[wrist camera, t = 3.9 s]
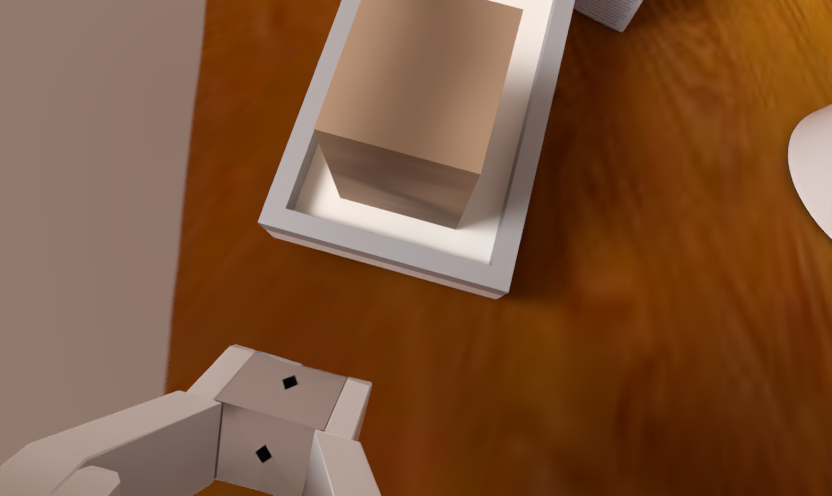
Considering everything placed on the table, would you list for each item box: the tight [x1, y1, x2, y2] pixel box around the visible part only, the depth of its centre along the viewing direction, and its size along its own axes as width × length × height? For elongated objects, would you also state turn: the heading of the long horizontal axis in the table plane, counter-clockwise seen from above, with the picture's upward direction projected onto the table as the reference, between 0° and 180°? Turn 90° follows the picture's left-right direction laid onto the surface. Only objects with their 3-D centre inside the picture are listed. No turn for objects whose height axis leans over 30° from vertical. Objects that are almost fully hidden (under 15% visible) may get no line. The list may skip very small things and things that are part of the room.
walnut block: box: [314, 0, 523, 230], centre depth 20 cm, size 6×7×7 cm
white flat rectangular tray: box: [258, 0, 575, 299], centre depth 25 cm, size 12×28×3 cm, turn 165°
